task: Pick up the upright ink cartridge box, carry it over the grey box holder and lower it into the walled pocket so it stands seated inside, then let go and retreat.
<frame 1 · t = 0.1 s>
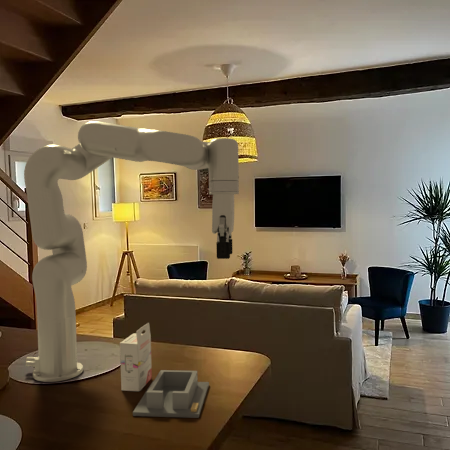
hand: (224, 256, 115), 31 cm above the table, tool pointing down, fingers open, 9 cm apart
ink cartridge box: (136, 385, 112), on the table
grey box holder: (173, 399, 103), on the table
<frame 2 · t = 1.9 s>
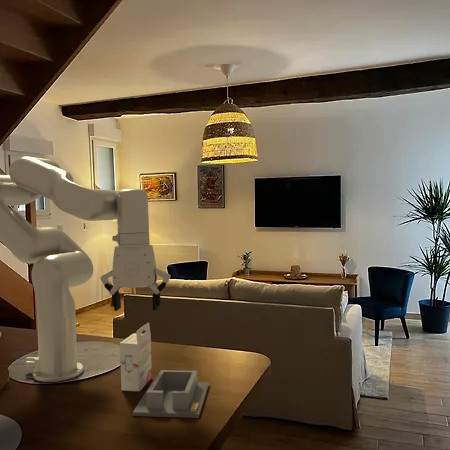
hand: (136, 309, 111), 19 cm above the table, tool pointing down, fingers open, 9 cm apart
nothing on the table moved.
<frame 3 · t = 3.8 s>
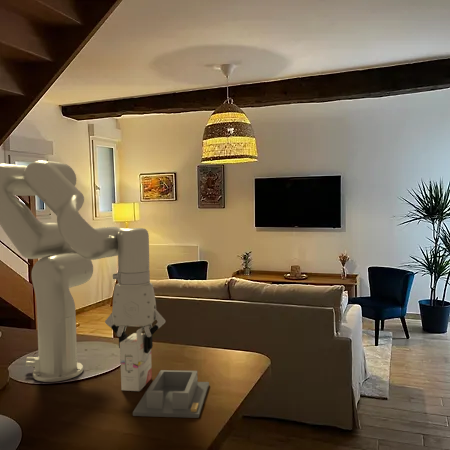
hand: (135, 350, 112), 8 cm above the table, tool pointing down, fingers closed on ink cartridge box, 5 cm apart
ink cartridge box: (136, 385, 112), on the table, touching gripper
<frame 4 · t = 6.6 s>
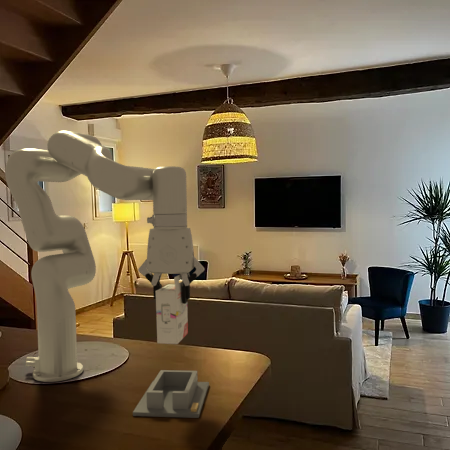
hand: (172, 301, 102), 23 cm above the table, tool pointing down, fingers closed on ink cartridge box, 5 cm apart
ink cartridge box: (172, 339, 103), point 14 cm above the table, touching gripper
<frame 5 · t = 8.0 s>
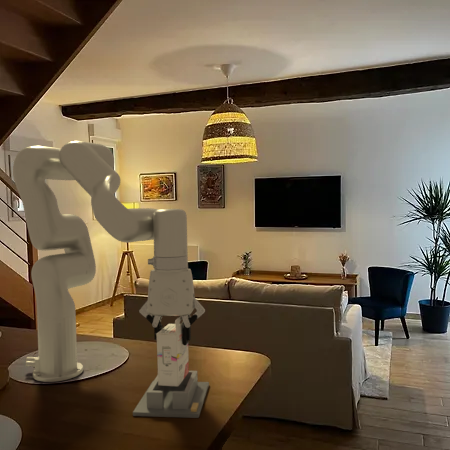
hand: (172, 342, 103), 13 cm above the table, tool pointing down, fingers closed on ink cartridge box, 5 cm apart
ink cartridge box: (173, 380, 103), point 4 cm above the table, touching gripper
when the fingers open (11 cm above the table, at t = 9.3 s): ink cartridge box drops 2 cm, resting on grey box holder.
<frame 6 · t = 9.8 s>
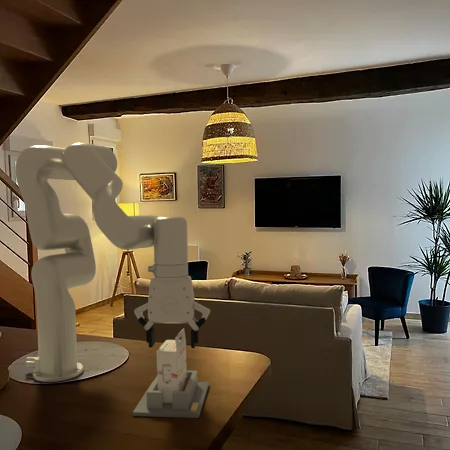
hand: (172, 346, 103), 12 cm above the table, tool pointing down, fingers open, 9 cm apart
ink cartridge box: (172, 396, 103), point 1 cm above the table, touching grey box holder
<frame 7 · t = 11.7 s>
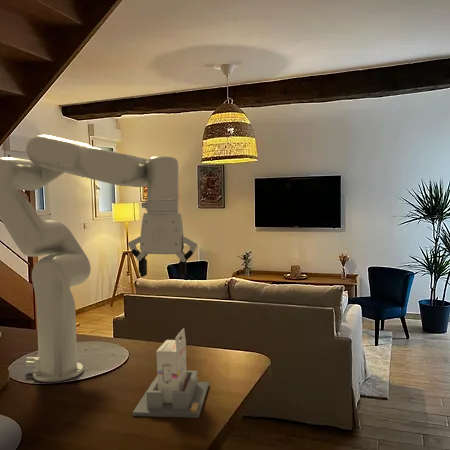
hand: (162, 276, 112), 27 cm above the table, tool pointing down, fingers open, 9 cm apart
nothing on the table moved.
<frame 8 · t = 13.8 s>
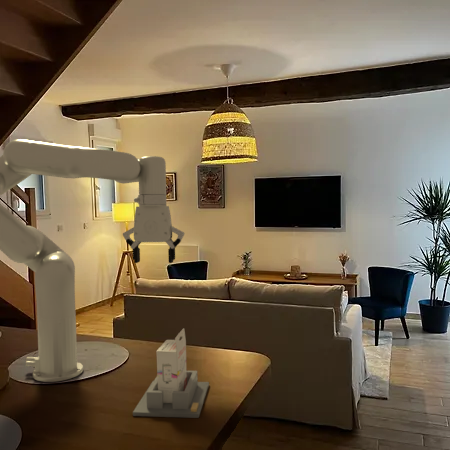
hand: (154, 262, 127), 28 cm above the table, tool pointing down, fingers open, 9 cm apart
nothing on the table moved.
at the end: ink cartridge box 0.4 cm off-centre on the grey box holder, point 0.6 cm above the grey box holder's base; ink cartridge box tilted 0°; the gripper is holding nothing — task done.
